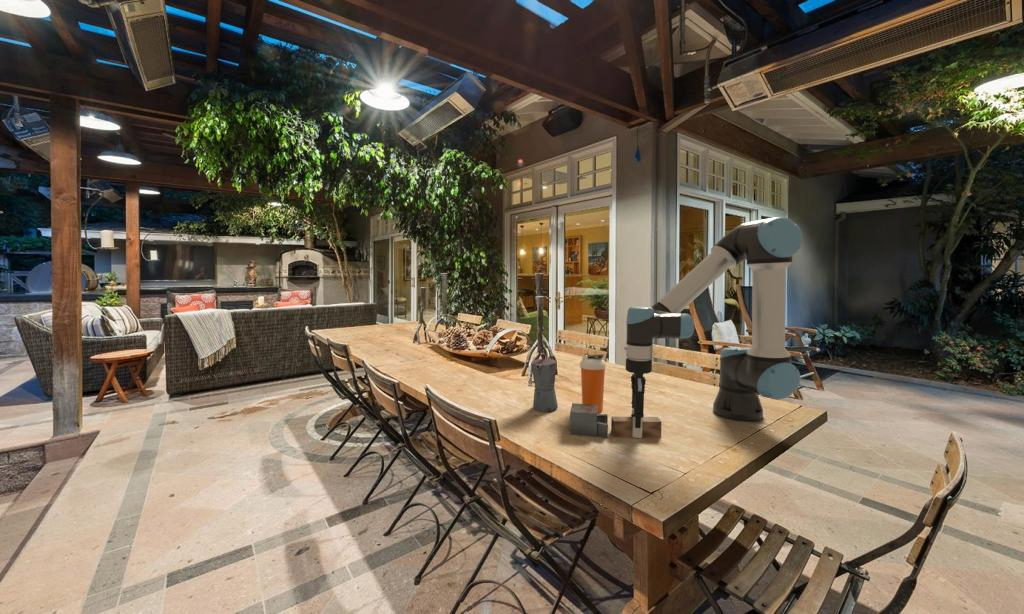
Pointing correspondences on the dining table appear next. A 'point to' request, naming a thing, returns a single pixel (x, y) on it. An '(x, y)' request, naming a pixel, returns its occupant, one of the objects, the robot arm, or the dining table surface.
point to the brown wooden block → (625, 426)
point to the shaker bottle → (593, 379)
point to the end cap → (588, 421)
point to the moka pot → (544, 384)
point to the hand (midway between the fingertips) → (636, 433)
